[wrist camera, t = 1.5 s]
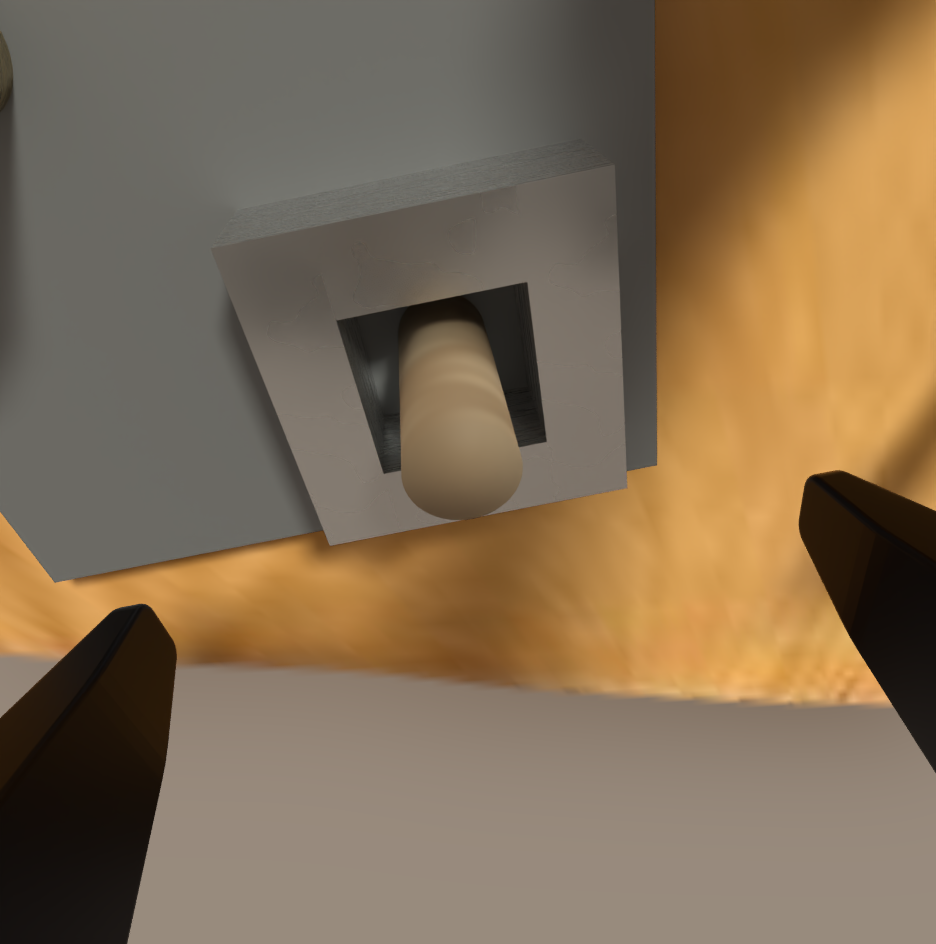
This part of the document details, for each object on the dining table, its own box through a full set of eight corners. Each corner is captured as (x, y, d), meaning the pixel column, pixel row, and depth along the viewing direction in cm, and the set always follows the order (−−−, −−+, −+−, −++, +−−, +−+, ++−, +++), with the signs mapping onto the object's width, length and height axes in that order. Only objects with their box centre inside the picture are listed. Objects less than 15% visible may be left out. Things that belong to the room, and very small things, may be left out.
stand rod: (477, 284, 15) (514, 409, 10) (490, 363, 16) (529, 507, 12) (389, 301, 15) (388, 434, 10) (409, 380, 16) (415, 529, 12)
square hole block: (580, 138, 13) (614, 164, 11) (599, 430, 17) (627, 488, 15) (237, 209, 13) (210, 248, 11) (336, 482, 18) (330, 545, 16)
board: (618, -556, 9) (651, -636, 8) (640, 435, 19) (656, 465, 18) (-520, -290, 10) (-646, -329, 9) (75, 546, 20) (54, 582, 19)
